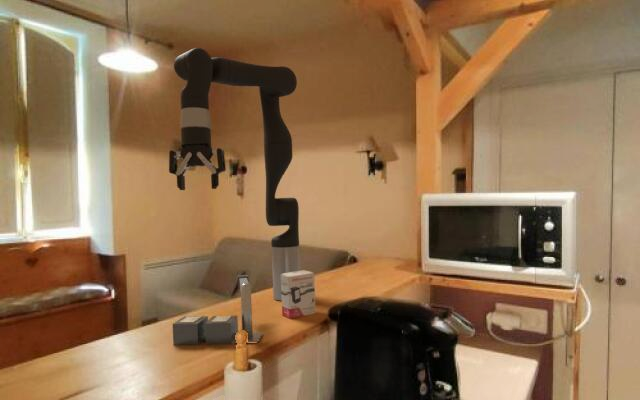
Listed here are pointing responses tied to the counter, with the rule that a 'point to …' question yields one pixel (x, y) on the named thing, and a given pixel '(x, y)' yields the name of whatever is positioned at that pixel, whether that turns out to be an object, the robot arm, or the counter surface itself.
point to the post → (247, 314)
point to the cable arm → (242, 280)
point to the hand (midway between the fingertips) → (198, 189)
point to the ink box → (298, 294)
